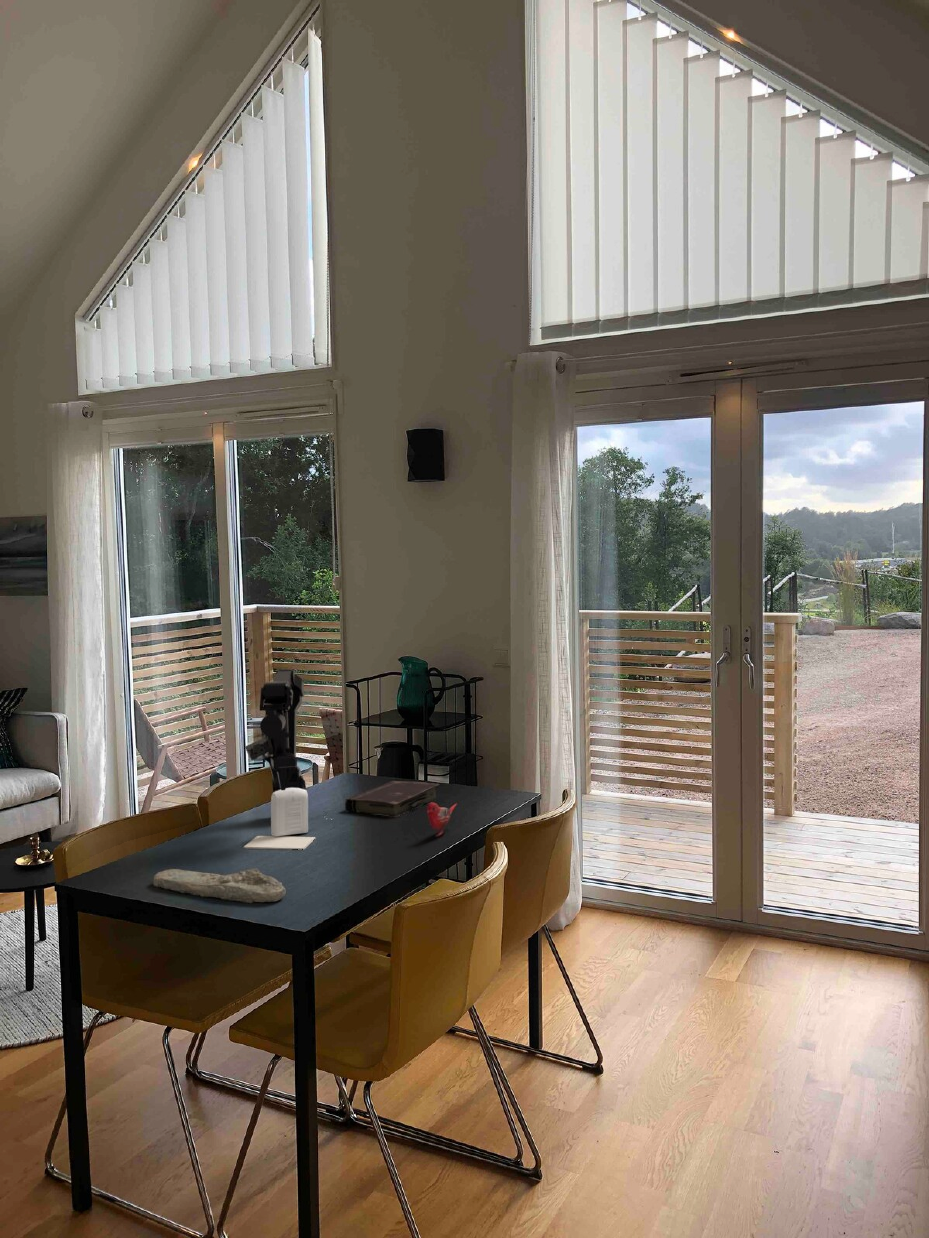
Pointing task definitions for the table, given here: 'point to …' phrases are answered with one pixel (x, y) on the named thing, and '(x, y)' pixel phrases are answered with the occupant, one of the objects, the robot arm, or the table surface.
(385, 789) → the diary
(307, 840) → the mat
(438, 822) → the decorative bird figurine
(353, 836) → the table surface
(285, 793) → the photo printer
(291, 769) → the robot arm
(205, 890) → the elongated rock
